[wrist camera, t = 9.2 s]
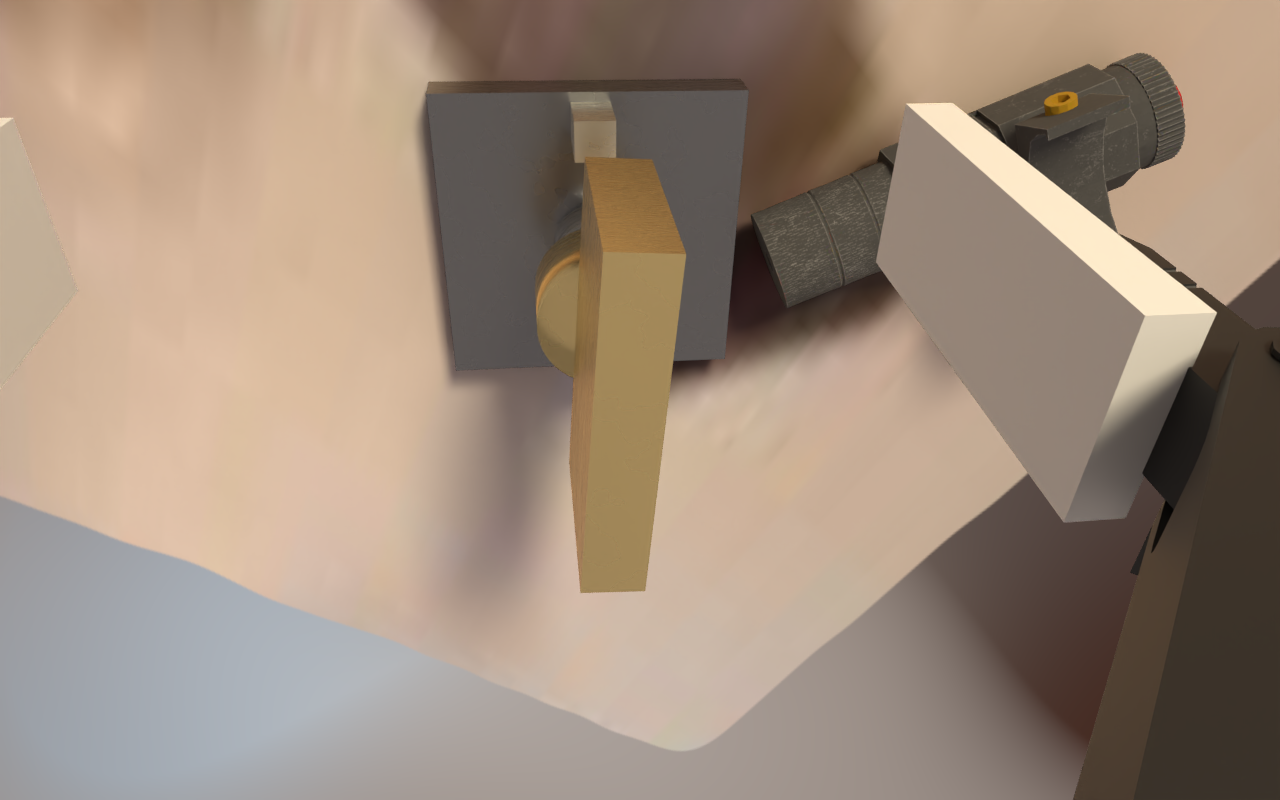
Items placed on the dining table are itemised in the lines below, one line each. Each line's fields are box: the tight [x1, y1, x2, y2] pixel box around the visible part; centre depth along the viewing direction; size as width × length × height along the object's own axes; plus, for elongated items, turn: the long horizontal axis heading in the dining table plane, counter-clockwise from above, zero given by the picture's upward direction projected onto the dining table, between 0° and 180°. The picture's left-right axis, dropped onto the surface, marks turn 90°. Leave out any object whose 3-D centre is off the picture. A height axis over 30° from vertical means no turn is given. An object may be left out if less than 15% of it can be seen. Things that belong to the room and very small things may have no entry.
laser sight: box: [751, 53, 1185, 308], centre depth 48 cm, size 10×22×10 cm, turn 112°
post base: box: [426, 79, 749, 370], centre depth 49 cm, size 16×16×7 cm
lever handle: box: [535, 157, 686, 593], centre depth 40 cm, size 6×16×13 cm, turn 175°
